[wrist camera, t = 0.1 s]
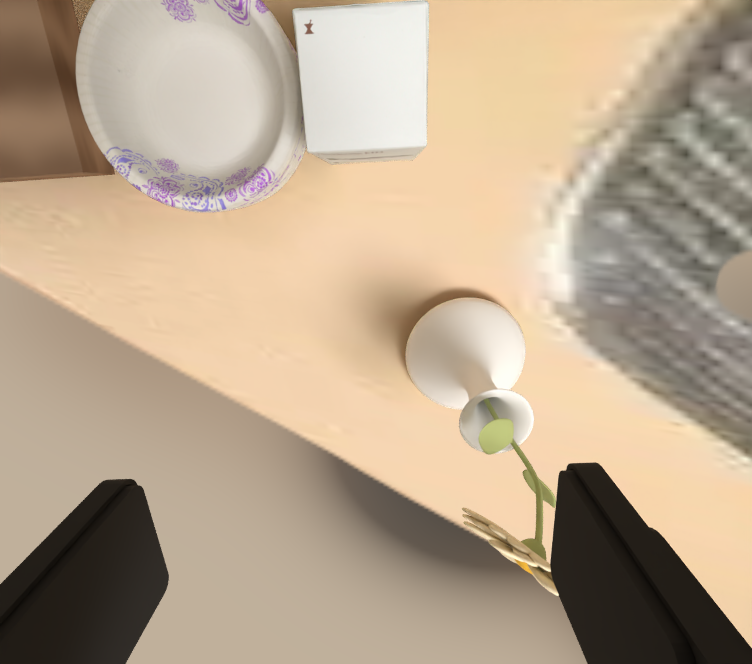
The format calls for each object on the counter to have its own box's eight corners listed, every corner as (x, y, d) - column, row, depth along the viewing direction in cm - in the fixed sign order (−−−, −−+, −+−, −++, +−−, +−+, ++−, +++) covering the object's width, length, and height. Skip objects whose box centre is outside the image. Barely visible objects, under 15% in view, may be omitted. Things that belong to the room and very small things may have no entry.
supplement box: (330, 166, 36) (301, 154, 24) (323, 68, 34) (288, 1, 22) (415, 163, 36) (428, 149, 24) (414, 64, 33) (429, -7, 21)
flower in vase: (386, 322, 40) (382, 507, 17) (496, 273, 39) (668, 403, 15) (437, 428, 44) (494, 702, 20) (540, 388, 42) (735, 638, 19)
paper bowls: (291, -16, 32) (261, -79, 24) (336, 188, 37) (323, 188, 29) (109, 33, 33) (28, -12, 26) (176, 224, 38) (124, 232, 31)
